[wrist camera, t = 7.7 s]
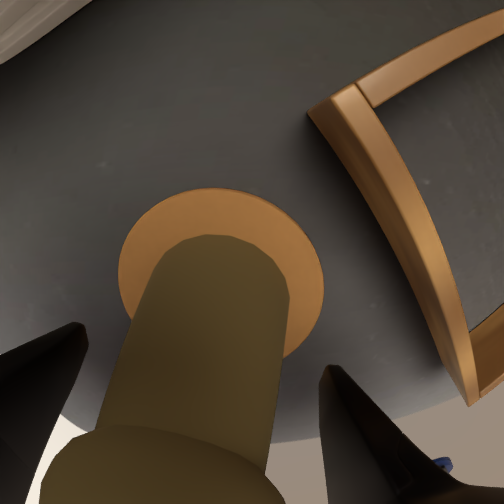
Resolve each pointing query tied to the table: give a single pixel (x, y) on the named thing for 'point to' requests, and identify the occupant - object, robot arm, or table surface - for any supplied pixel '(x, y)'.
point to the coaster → (233, 224)
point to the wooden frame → (416, 200)
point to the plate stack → (31, 22)
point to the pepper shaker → (188, 387)
